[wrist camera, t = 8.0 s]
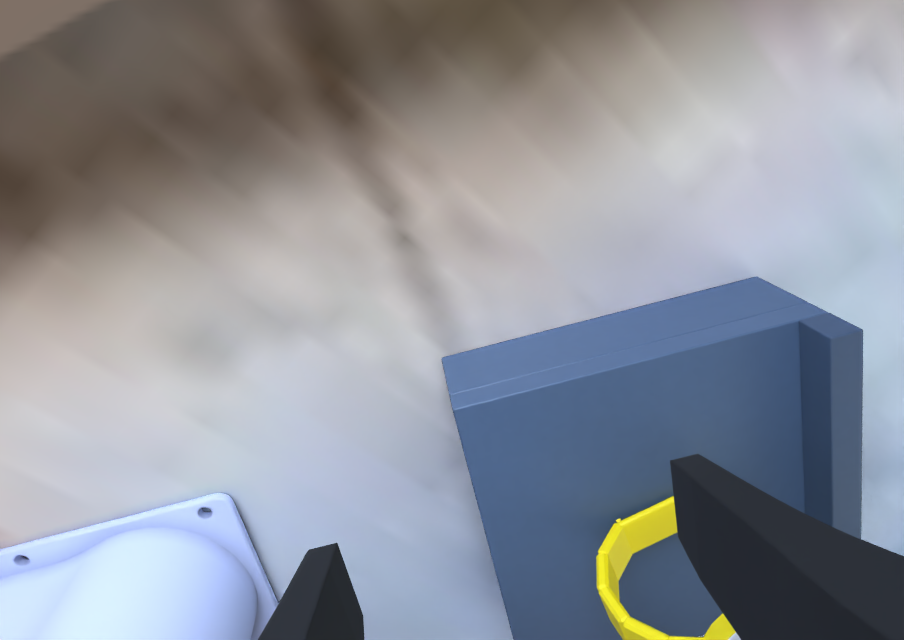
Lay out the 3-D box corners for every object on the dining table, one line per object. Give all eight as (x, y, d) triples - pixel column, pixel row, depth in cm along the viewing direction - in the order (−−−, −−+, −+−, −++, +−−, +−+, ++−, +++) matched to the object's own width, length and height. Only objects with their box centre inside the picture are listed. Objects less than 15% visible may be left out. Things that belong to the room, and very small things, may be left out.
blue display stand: (505, 601, 27) (534, 721, 22) (441, 357, 23) (458, 435, 18) (771, 531, 27) (860, 633, 22) (757, 275, 23) (863, 329, 18)
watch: (591, 576, 22) (661, 741, 16) (566, 517, 21) (632, 672, 16) (752, 512, 22) (878, 656, 16) (734, 449, 21) (863, 581, 15)
